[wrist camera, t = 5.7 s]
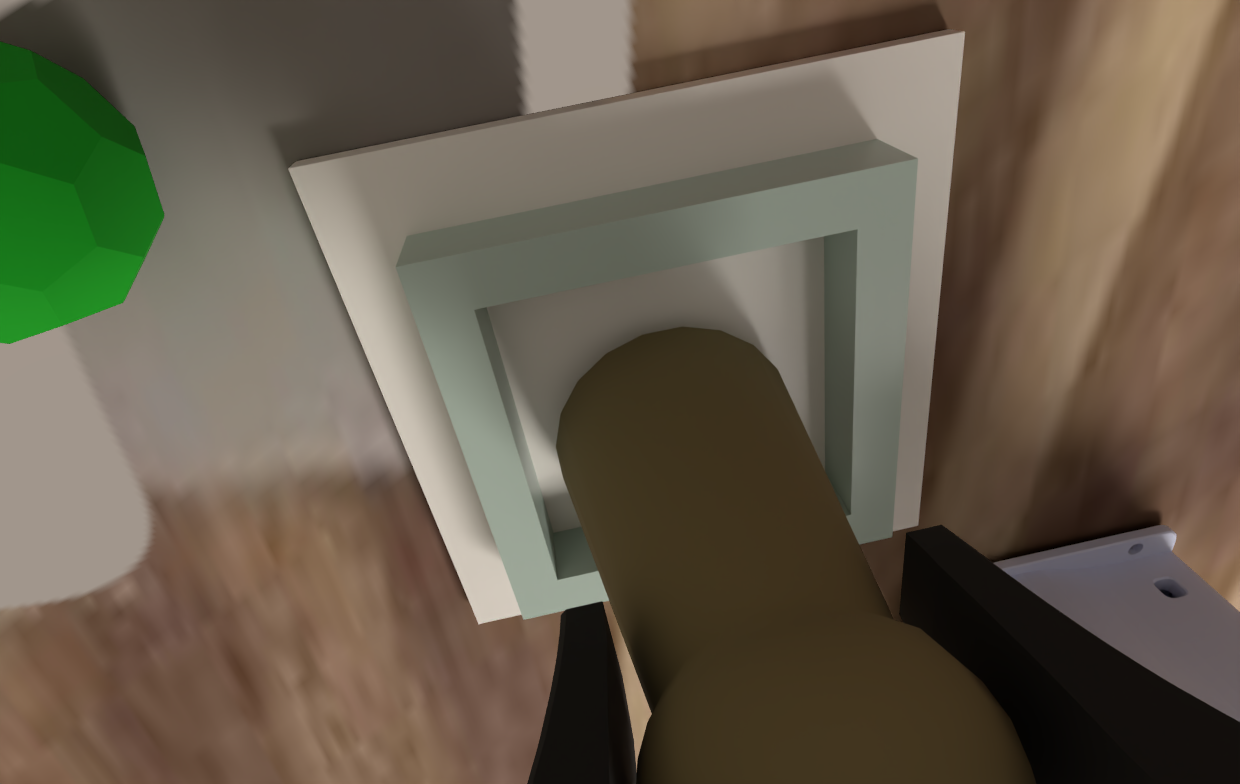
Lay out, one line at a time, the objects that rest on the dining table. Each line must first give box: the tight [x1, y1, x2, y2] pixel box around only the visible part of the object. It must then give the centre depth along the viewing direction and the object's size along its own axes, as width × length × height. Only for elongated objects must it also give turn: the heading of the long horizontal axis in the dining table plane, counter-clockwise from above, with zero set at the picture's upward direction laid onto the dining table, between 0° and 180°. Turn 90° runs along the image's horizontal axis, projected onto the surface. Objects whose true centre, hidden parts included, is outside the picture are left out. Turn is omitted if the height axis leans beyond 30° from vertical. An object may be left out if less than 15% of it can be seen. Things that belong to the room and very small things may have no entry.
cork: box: [556, 327, 1036, 784], centre depth 13 cm, size 6×6×11 cm
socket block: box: [288, 29, 965, 624], centre depth 17 cm, size 14×14×2 cm
